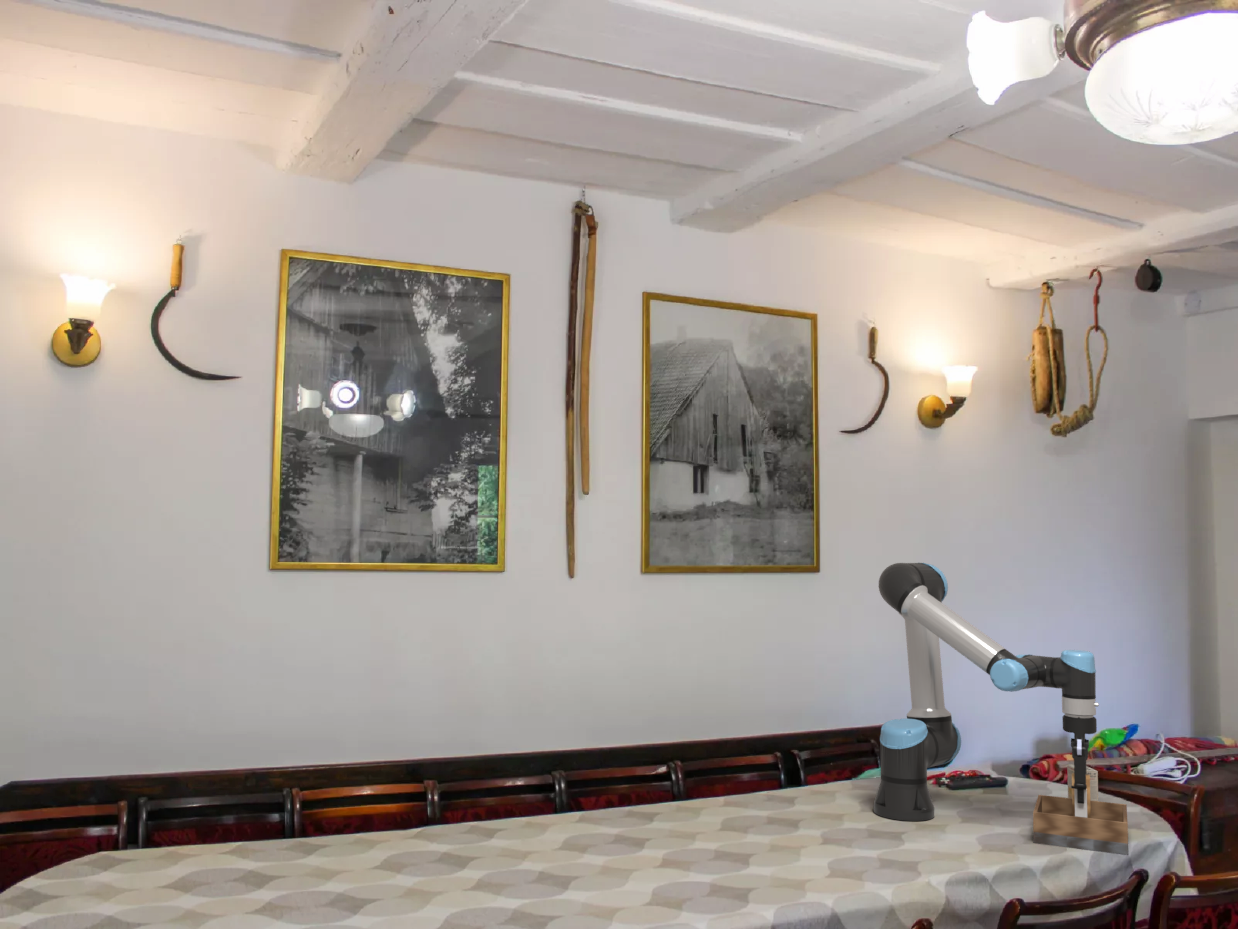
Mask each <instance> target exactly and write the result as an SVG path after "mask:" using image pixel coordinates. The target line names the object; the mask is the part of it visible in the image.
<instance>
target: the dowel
mask: <svg viewBox="0 0 1238 929" xmlns="http://www.w3.org/2000/svg"><path fill="white" fill-rule="evenodd" d="M1074 783H1075V780H1074V773H1072V786H1074ZM1086 785H1087V788H1086V789H1087V818H1091V803H1090V775H1088V774H1086ZM1072 811H1073V816H1075V795H1074V789H1073V788H1072ZM1075 817H1077V816H1075ZM1084 818H1085V817H1084Z"/></svg>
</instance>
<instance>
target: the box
mask: <svg viewBox="0 0 1238 929" xmlns="http://www.w3.org/2000/svg"><path fill="white" fill-rule="evenodd" d="M1090 803H1091V818H1084V817H1075V816H1073V811H1072V798H1068V797H1062V796H1054V795H1046V794H1038V796H1037V800H1036V803H1035V804H1034V809H1033V811H1032V814H1033V815H1032V820H1033V825H1032V826H1033V827H1032V830H1033V831H1032V834H1033V837H1032V838H1033V839H1032V841H1033V843H1034V844H1040V845H1041V844H1043V845H1047V846H1048V845H1049V846H1056V847H1057V846H1058V847H1062V848H1071V849H1079V850H1087V851H1094V852H1102V853H1111V854H1117V855H1125V856H1128V855H1129V827H1128V826H1129V825H1128V823H1129V822H1128V806H1127V804H1125V803H1117V802H1107V801H1099V800H1098V801H1091V800H1090Z"/></svg>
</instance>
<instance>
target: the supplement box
mask: <svg viewBox="0 0 1238 929" xmlns="http://www.w3.org/2000/svg"><path fill="white" fill-rule="evenodd" d="M1066 766H1067V767H1066V768H1067V798H1072V788H1071V786H1072V773H1074V764H1067V765H1066ZM1086 771H1087V774H1088V775H1090V800H1091V801H1099V777H1098V776H1099V773H1098V772H1099V771H1098V770H1096V769H1094V768H1091V767H1089V766H1087V765H1086Z"/></svg>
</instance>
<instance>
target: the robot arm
mask: <svg viewBox="0 0 1238 929" xmlns="http://www.w3.org/2000/svg"><path fill="white" fill-rule="evenodd" d="M948 590H949V586H948V580H947V578H946V576H945V574H944V572H943V571H942V570H941V569H940V568H939V567H937V566H935V565H934V564H930V563H925V562H897V563H896V562H895V563H893V564H890V565H888V566H887V567H886V568H885V569H884V570H883V571H882V572H881V574H880V576H879V579H878V591H879V594H880V596H881V597H882V598H881V599H883V601H885V602H886V604H888V605H889V607H891V608H892V609H894V610H895V611H897V613H898V614H899V615H900V616H901V617H902V618H903V619H904V626H905V627H904V628H905V637H906V639H905V640H906V650H907V651H906V652H907V662H908V664H907V665H908V675H909V690H910V701H911V709H910V710H909V711H908V712H907V713H906V718H897V719H891V720H887V721H886V722H884V723H883V724H882V725H881V728H880V735H879V742H880V781H879V786H878V789H877V791H876V794H875V798H874V801H873V812H874V814H875V815H878V816H880V817H882V818H887V819H891V820H897V821H907V822H918V821H919V822H921V821H927V820H932V819H933V818H935V807H934V806H935V805H934V803H933V800H932V797H931V793H930V790H929V787H928V768H933V767H935V766H942V765H946V764H947V763H949V762H951V761H952V760H954V759H955V758H956V757H957V756H958V754H959V752H960V750H961V746H962V736H961V732H960V730H959V728H958V727H956V725H955V723H953V719H952V713H951V712H950V711H949V710H948V709H947V708H946V706H945V697H944V696H945V694H944V685H943V684H944V682H943V670H942V662H941V661H942V660H941V648H940V640H942V641H943V642H944V643H946V644H947V645H949V647H950V648H953V649H954V650H956V652H958V653H959V654H961V656H964V658H966V659H967V660H968V661H970V662H971V663H972V664H974V665H975V666H977V667H978V668H979V669H981V670H982V671H984V672H985V674H987V675H988V676H989V677H990V680H991V682H992V684H993V686H994V687H996V688H997V689H998V690H1001V691H1003V692H1019V691H1021V690H1022V691H1023V690H1028V689H1033V688H1039V687H1040V688H1053V689H1061V711H1062V713H1063V714H1064V715H1063V716H1062V730H1063V731H1064V732H1066V733H1070V734H1071V733H1073V738H1071V739H1070V747H1071V758H1072V759H1073V765H1074V780H1075V783H1074V786H1071V788H1073V789H1074V795H1075V816H1077V817H1085V818H1087V789H1086V788H1087V785H1086V774H1087V771H1086V766H1087V760H1088V759H1089V749H1090V748H1089V747H1090V740H1089V739H1087V738H1086V735H1093V734H1096V733H1097V732H1098V730H1097V728H1098V727H1097V718H1096V717H1095V716H1096V715H1097V707H1099V705H1100V704H1099V702H1097V701H1096V700H1097V696H1096V688H1097V687H1096V684H1097V683H1096V673H1097V670H1096V660H1095V656H1094V654H1093V652H1091V651H1088V650H1078V649H1076V650H1075V649H1065V650H1062V651H1061V653H1060V657H1054V656H1043V655H1042V656H1041V655H1033V654H1017V655H1015V654H1013V653H1012V652H1011V651H1009V650H1007V648H1005V647H1004V646H1002V645H1001V644H999V643H998V642H996V641H995V640H994V639H992V638H991V637H990V636H988V634H986V633H984V632H983V631H982V630H980V629H979V628H977V627H976V626H974V624H972V623H970V622H969V621H967V620H966V619H965V618H963V617H962V616H961V615H959V614H958V613H956V612H955V611H953V610H952V609H951V608H950V607H948V606H947V605H945V604H944V603H943V601H944V600H945V598H946V597H947V594H948Z"/></svg>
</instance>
